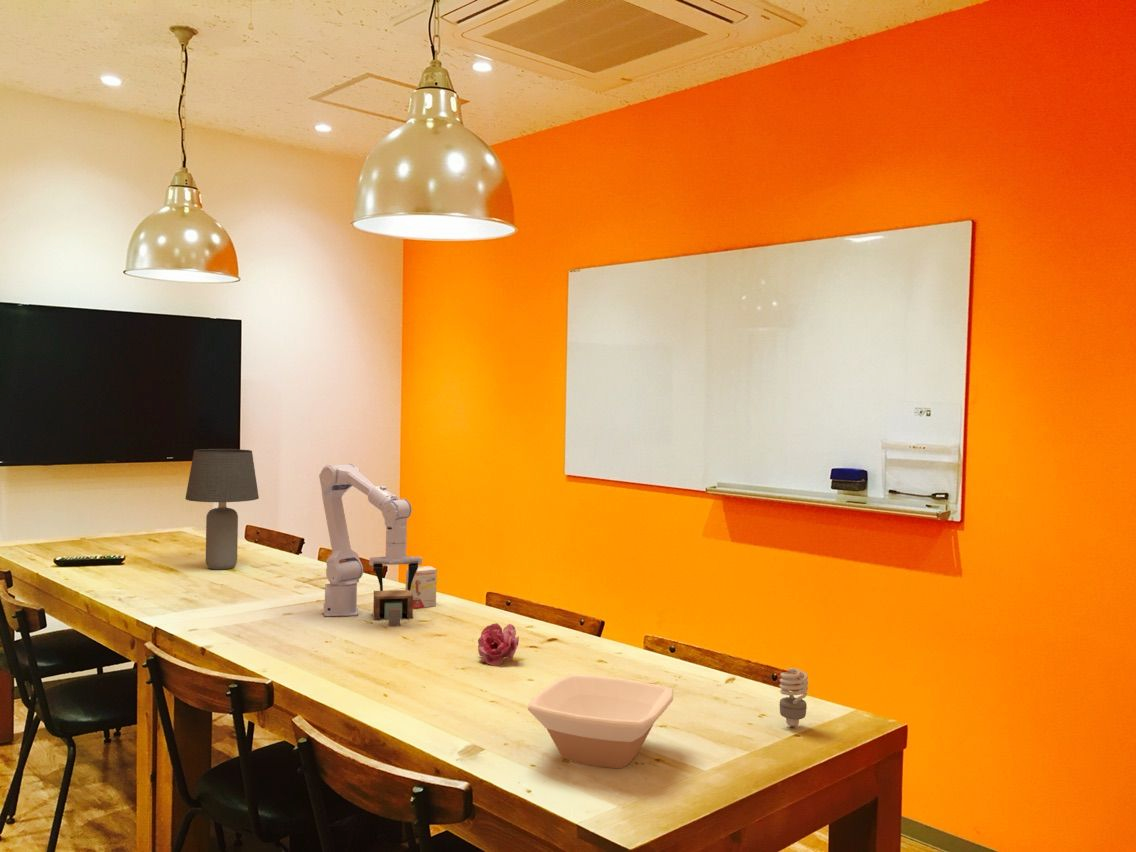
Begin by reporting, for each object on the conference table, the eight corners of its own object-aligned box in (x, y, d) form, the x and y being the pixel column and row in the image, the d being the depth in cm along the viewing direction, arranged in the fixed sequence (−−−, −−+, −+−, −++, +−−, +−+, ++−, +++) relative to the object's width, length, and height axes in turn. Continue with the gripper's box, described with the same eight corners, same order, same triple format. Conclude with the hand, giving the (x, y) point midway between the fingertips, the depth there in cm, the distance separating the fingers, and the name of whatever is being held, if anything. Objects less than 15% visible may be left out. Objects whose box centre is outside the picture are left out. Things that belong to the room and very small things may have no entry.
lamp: (243, 575, 327) (245, 453, 326) (172, 573, 327) (173, 451, 326) (267, 562, 352) (269, 449, 351) (201, 560, 352) (203, 447, 351)
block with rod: (385, 626, 261) (385, 610, 261) (383, 614, 274) (384, 599, 274) (403, 625, 262) (403, 609, 262) (400, 614, 276) (401, 599, 275)
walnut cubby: (374, 619, 268) (374, 596, 268) (373, 613, 276) (373, 590, 276) (412, 618, 270) (413, 595, 270) (410, 612, 278) (411, 590, 278)
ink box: (411, 609, 282) (412, 570, 282) (404, 606, 286) (405, 568, 286) (436, 606, 287) (437, 568, 287) (429, 603, 291) (430, 565, 291)
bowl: (515, 766, 164) (517, 707, 164) (565, 722, 187) (566, 670, 187) (644, 790, 156) (646, 727, 156) (680, 741, 179) (682, 686, 179)
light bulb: (774, 722, 191) (776, 664, 190) (801, 722, 191) (803, 664, 191) (783, 732, 185) (785, 672, 185) (810, 732, 186) (812, 672, 185)
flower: (496, 680, 224) (473, 647, 223) (488, 672, 234) (466, 640, 233) (534, 651, 227) (511, 618, 226) (525, 644, 237) (503, 612, 236)
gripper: (370, 544, 257) (369, 593, 257) (423, 544, 260) (422, 592, 261) (369, 540, 264) (368, 588, 264) (421, 540, 267) (420, 587, 267)
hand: (395, 590), depth 263 cm, fingers open, 7 cm apart
